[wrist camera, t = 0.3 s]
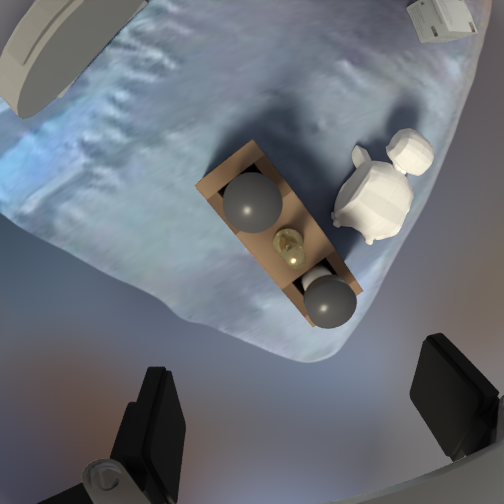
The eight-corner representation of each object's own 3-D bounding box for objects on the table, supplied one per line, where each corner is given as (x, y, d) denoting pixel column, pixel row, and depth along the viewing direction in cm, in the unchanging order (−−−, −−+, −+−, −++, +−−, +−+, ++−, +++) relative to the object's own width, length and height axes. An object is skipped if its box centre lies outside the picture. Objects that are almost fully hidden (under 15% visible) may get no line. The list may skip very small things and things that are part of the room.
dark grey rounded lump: (316, 243, 36) (340, 272, 28) (338, 273, 38) (365, 308, 29) (283, 268, 37) (297, 304, 28) (306, 296, 38) (324, 337, 30)
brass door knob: (290, 221, 31) (300, 235, 26) (307, 244, 32) (320, 261, 27) (266, 240, 32) (271, 256, 27) (283, 262, 32) (292, 282, 28)
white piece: (369, 224, 43) (432, 141, 34) (381, 262, 37) (460, 167, 28) (319, 196, 42) (381, 104, 33) (324, 232, 35) (404, 122, 26)
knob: (251, 158, 33) (258, 161, 24) (279, 193, 34) (294, 208, 26) (216, 186, 34) (210, 199, 25) (244, 220, 35) (247, 244, 26)
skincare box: (404, 7, 30) (430, -10, 23) (435, 8, 30) (462, -7, 23) (420, 44, 32) (449, 31, 25) (449, 43, 32) (479, 32, 25)
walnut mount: (248, 141, 36) (252, 139, 28) (341, 265, 42) (363, 290, 34) (202, 178, 37) (194, 185, 30) (299, 296, 43) (313, 327, 35)
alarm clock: (140, -29, 27) (112, -78, 15) (170, -11, 29) (148, -62, 17) (26, 97, 32) (-32, 89, 19) (50, 120, 33) (-10, 118, 21)
